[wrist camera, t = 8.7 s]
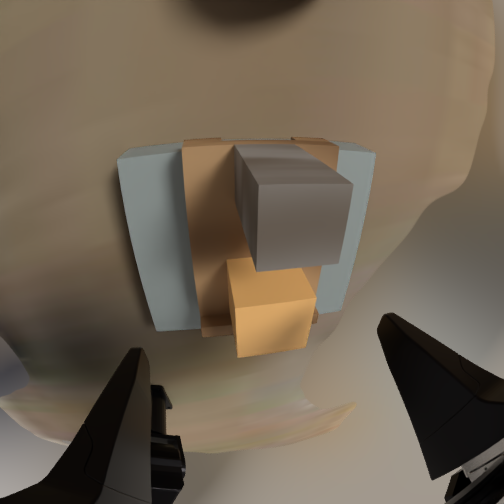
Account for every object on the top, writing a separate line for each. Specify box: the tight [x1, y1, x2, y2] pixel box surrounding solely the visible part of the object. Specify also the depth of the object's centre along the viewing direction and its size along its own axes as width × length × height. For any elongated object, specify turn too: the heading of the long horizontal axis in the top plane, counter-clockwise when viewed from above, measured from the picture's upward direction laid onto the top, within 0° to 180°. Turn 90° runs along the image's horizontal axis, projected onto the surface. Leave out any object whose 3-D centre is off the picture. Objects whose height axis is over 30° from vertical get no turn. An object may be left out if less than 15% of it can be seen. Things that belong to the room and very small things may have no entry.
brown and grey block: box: [182, 137, 354, 337], centre depth 14 cm, size 12×8×8 cm, turn 179°
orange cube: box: [227, 257, 317, 358], centre depth 16 cm, size 4×4×4 cm
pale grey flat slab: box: [117, 139, 376, 331], centre depth 20 cm, size 14×16×3 cm
